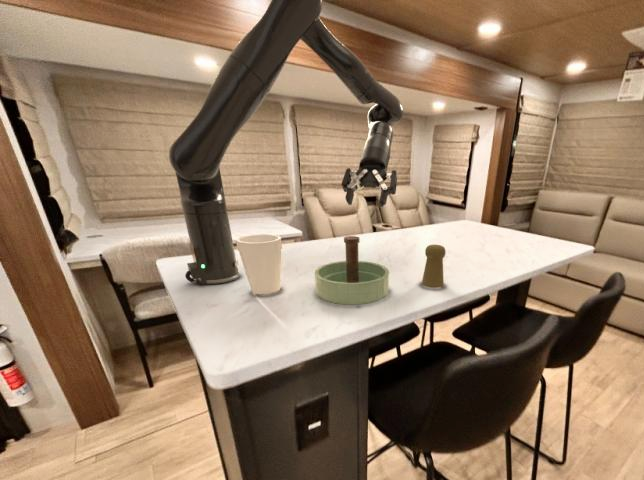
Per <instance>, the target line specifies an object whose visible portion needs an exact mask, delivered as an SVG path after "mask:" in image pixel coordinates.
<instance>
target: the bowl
mask: <svg viewBox="0 0 644 480" xmlns="http://www.w3.org/2000/svg"><path fill="white" fill-rule="evenodd" d="M346 280H347V279H346V260H342V261H335V262H330V263H325V264H323V265H321V266H319V267H317V268H316V269H315V271H314V281H315V293H316V295H317V297H319V298H320V299H321V300H323V301H325V302H329V303H333V304H338V305H350V306H351V305H363V304H369V303H373V302H377V301H380V300H381V299H383V298H385V297H386V296H387V295H388V294H389V291H390V271H389V269H388V268H387V267H386V266H385V265H382V264H380V263H375V262H371V261H366V260H359V280H360V281H361V282H359V283H344V281H346Z"/></svg>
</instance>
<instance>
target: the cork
mask: <svg viewBox="0 0 644 480" xmlns="http://www.w3.org/2000/svg"><path fill="white" fill-rule="evenodd" d="M424 252H425V253H424V254H425V258H426V261H425V266H424V270H423V275H422V279H421V284H422V286H424V287H427V288H431V289H434V288H435V289H436V288H437V289H439V288H442V289H444V287H445V286H444V285H445V283H444V281H445V280H444V258H445V256H446V248H445V247H444V246H443V245H441V244H429V245H427V246H426V248H425V250H424Z"/></svg>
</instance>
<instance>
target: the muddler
mask: <svg viewBox="0 0 644 480" xmlns="http://www.w3.org/2000/svg"><path fill="white" fill-rule="evenodd" d="M343 243H344V244H345V245H344V246H345V261H346V279H347V280H346V281H344V283H359V282H361V281H360V280H359V261H360V260H359V259H360V257H359V243H360V237H359V236H355V235H347V236H344V237H343Z"/></svg>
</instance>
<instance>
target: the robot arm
mask: <svg viewBox="0 0 644 480" xmlns="http://www.w3.org/2000/svg"><path fill="white" fill-rule="evenodd" d="M322 8H323V0H271V1H270V3H269V4H268V6H267V8H266V10H265V11H264V14H263V16H262V17H261V18H259V20H258V22H257V23H256V24H255V25H254V26H253V27H252V28H251V29H250V30H249V31H248V32H247V33H246V34H245V35H244V36H243V38H242V39H241V40H240V41H239V42H238V44H236V46H235V47H234V48H233V50H232V51H231V52H230V54H229V55H228V57H227V58H226V60H225V62H224V63H223V65H222V66H221V68H220V70H219V71H218V73H217V75H216V77H215V79H213V82H212V84H211V86H210V88H209V91H208V92H207V94H206V96H205V99H204V102H203V104H202V106H201V108H200V109H199V111H198V113H197V114H196V115H195V117H194V118H193V120H192V121H191V122H190V123H189V125H188V126H187V127H186V128H185V129H184V131H183V132H182V133H181V134H180V135H179V136H177V138H176V139H175V140H174V141H173V143H172V144H171V146H170V147H169V150H168V159H169V163H170V165H171V168H172V169H173V170H174V172H175V176H176V180H177V185H178V190H179V196H180V197H179V198H180V204H181V208H182V213H183V217H184V221H185V225H186V230H187V234H188V239H189V248H190V252H191V256H192V261H193V262H188V263H186V264H187V269H188V270H187V271H186V272H185V279H186V280H187V281H188V282H190V283H194V282H195V280H198V282H199V283H200V284H201V285H215V284H217V285H219V284H224V283H230V282H232V281H235V280H237V279H239V277H240V273H239V268H238V266H239V262H238V259H237V257H236V252H235V247H234V242H233V236H232V230H231V225H230V219H229V214H228V207H227V201H226V196H225V191H224V186H223V180H222V174H221V168H220V165H221V163H222V161H223V160H224V159H223V158H224V156H225V154H226V152H227V150H228V149H229V147H230V144H231V143H232V142H233V139H234V138H235V137H236V135H237V134H238V132H239V131H240V130H241V129H242V128H243V127H244V126H245V125H246V124H247V123H248V122H249V121H250V119H252V117H253V116H254V115H255V113H256V112H257V111H258V109H260V107H261V106H262V104H263V102H264V100H265V99H266V98H267V96H268V94H269V93H270V92H271V89H272V87H273V86H274V84H275V82H276V81H277V79H278V77H279V76H280V74H281V72H282V70H283V68H284V66H285V64H286V62H287V60H288V58H289V56H290V55H291V53H292V51H293V50H294V48H295V47H296V45H298V43H299V41H302V42H303V43H304V44H305V45H306V46H307V47H309V49H310V50H312V51H313V53H315V54H316V55H317V57H319V59H321V61H322V62H323V63H324V64H326V66H328V68H329V69H330V70H331V71H332V72H333V74H334V75H336V77H337V78H338V79H339V80H340V81H341V82H342V83H343V85H344V86H345V87H346V89H347V90H348V91H349V92H350V93H351V94H352V96H353V97H354V98H355V99H356V100H357V101H358V102H359V103H360V104H361V105H365V106H366V105H369V104H374V105H373V106H371V107H370V109H369V110H368V113H367V118H366V119H367V127H368V133H367V136H366V140H365V142H364V145H363V149H362V153H361V156H360V161H359V164H358V169H357V170H351V168H349V167H347V168H346V169H345V172H344V175H343V178H342V181H341V183H340V184H341V187H342V189H343V192H344V193H345V196H344V197H345V201H346V203H347V204H348V206H352V205H353V200H354V197H355V193H356V192H357V191H360V190H362V189H363V188H367V189H368V188H372V189H376V188H378V189H379V191H380V196H379V200H378V201H379V202H378V203H379V207H380V208H384V206H386V204H387V200H388V196H389V195H392V196H393V195H396V193H397V185H398V173H397V170H395V169H393V170H392V171H391V172H387V171H388V167H389V163H390V159H391V151H392V150H391V149H392V143H393V138H394V131H393V126H394V125H397V123H399V122H401V120H402V119H403V117H404V107H403V105H402V103H401V101H400V99H399V98H398V97H397V96H396V95H395V94H394V93H392V92H391V91H390V90H389V89H387V88H386V87H385V86H384V85H383V84H381V83H380V82H378V81H377V80H376V79H375V77H374V76H373V73H371V71H369V69H368V68H367V67H366V65H365V64H364V62H363V61H362V60H361V59H360V58H359V57H358V56H357V55H356V54H355V53H354V52H353V51H351V50H350V49H349V48H348V47H347V46H345V44H343V43H342V42H341V41H340V40H339V39H337V37H335V36H334V35H333V34H332V32H331V31H330V30H329V29H328V28H327V27H326V25H325V24H324V23H323V21H322V20H321V19H320V16H321V13H322ZM387 179H388V180H389V182H390V183H389V186H387V184H386V183H385V181H387Z"/></svg>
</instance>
